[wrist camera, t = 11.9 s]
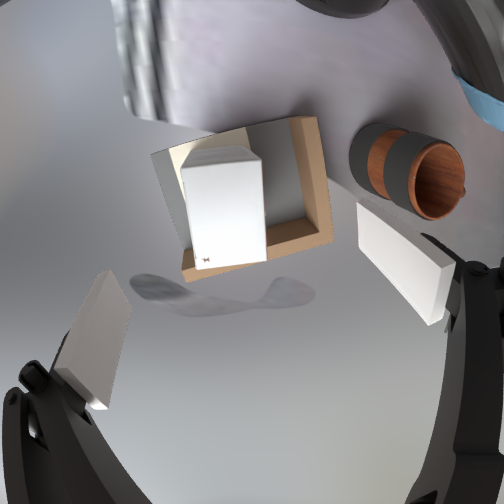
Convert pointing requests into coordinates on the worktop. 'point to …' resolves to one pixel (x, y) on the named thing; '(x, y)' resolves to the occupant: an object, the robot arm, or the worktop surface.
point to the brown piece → (275, 187)
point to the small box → (225, 206)
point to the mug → (408, 169)
